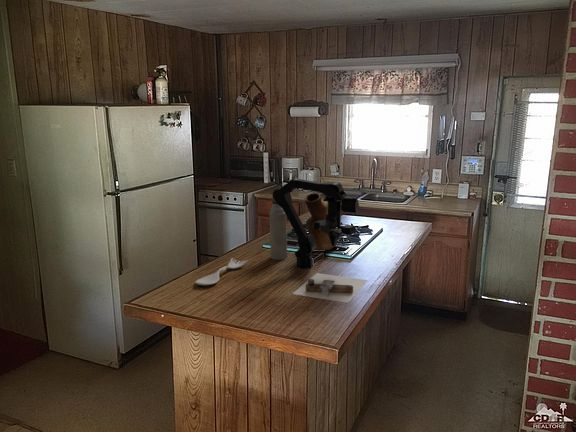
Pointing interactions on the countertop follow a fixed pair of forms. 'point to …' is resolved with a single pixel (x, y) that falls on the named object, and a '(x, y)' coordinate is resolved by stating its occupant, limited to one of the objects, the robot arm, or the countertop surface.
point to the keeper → (327, 287)
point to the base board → (338, 280)
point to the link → (335, 289)
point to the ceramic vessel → (318, 212)
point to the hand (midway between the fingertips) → (333, 246)
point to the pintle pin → (310, 282)
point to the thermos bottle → (278, 232)
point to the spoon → (215, 277)
